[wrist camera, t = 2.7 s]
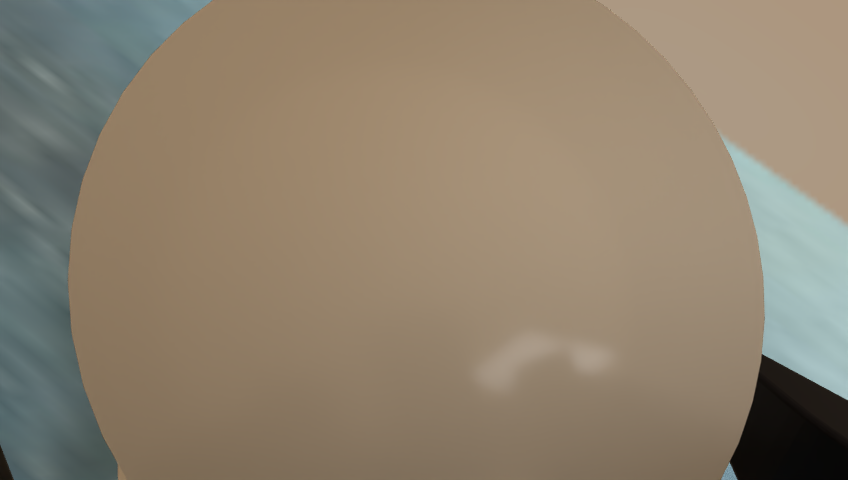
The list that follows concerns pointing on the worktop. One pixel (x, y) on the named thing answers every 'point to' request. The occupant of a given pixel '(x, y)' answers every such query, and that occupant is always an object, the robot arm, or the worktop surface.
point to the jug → (414, 251)
